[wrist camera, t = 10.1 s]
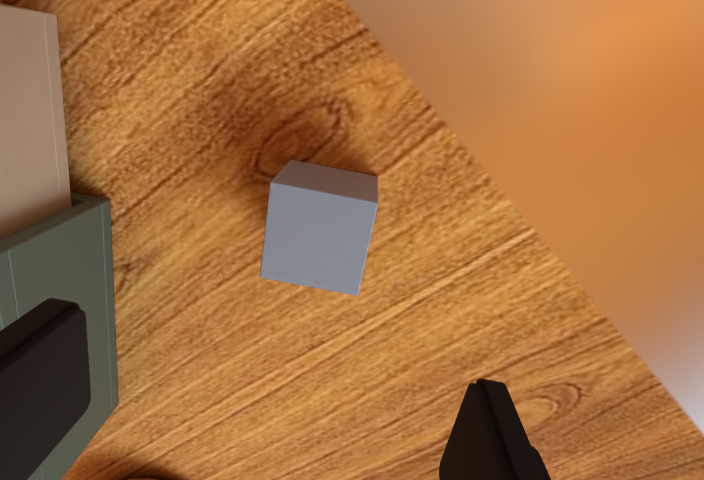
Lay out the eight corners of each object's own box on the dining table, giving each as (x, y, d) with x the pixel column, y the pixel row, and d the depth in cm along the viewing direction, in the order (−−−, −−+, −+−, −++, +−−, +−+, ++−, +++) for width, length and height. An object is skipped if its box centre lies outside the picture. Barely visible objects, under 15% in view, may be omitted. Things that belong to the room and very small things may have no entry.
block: (290, 159, 21) (270, 181, 17) (377, 176, 21) (378, 202, 17) (280, 239, 23) (259, 277, 19) (360, 255, 23) (357, 296, 19)
